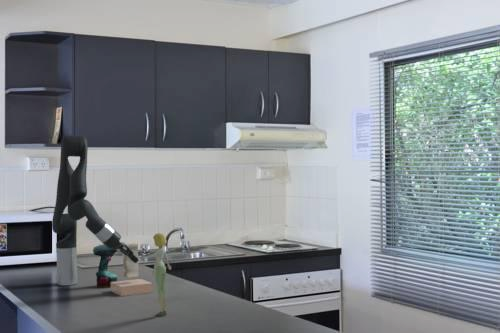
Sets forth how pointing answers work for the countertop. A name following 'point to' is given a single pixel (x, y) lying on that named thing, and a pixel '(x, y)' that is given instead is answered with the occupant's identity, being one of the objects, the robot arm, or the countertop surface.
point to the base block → (131, 287)
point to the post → (131, 262)
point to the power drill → (104, 266)
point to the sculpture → (160, 271)
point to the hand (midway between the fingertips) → (134, 260)
